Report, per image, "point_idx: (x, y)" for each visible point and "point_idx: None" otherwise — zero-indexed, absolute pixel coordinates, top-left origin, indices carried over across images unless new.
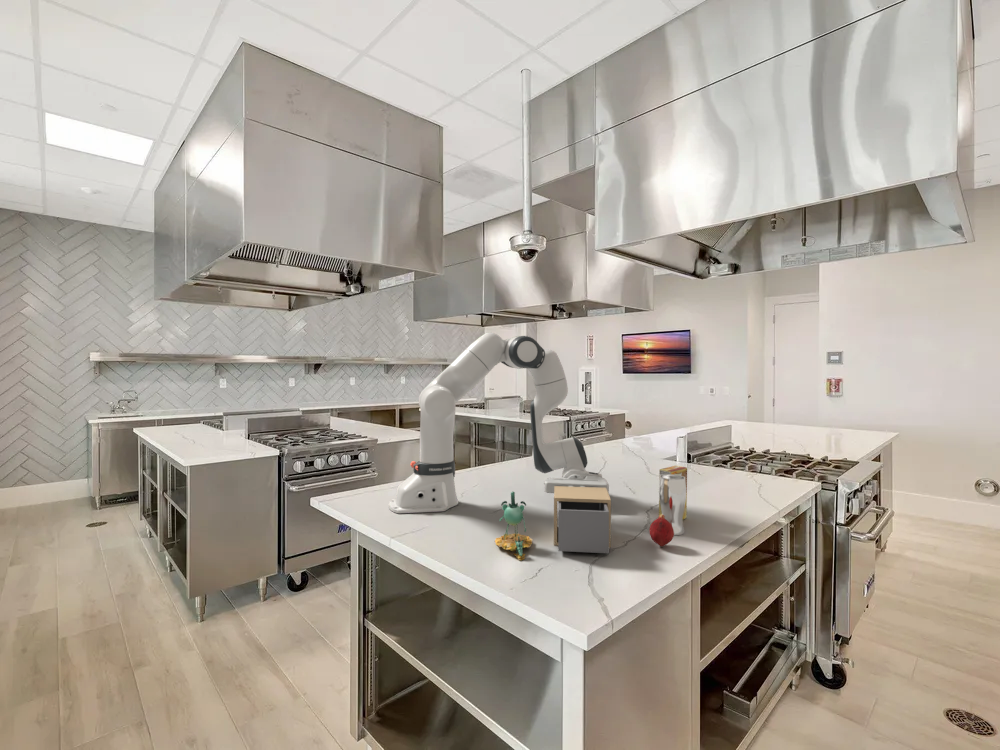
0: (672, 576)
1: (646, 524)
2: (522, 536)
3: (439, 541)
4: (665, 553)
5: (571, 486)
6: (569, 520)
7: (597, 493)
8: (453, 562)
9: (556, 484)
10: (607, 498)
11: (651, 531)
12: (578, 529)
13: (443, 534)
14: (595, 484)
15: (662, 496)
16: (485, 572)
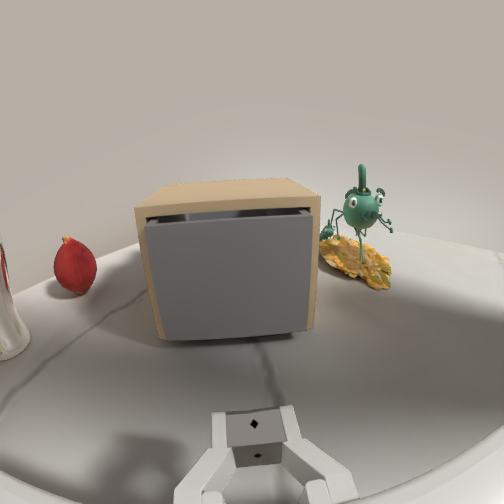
0: (127, 247)
1: (24, 383)
2: (348, 260)
3: (451, 254)
4: (94, 279)
5: (319, 480)
6: None
7: (181, 190)
8: (387, 233)
9: (463, 453)
10: (168, 186)
11: (94, 260)
12: (236, 214)
13: (471, 266)
14: (57, 497)
15: (2, 249)
16: (341, 228)
